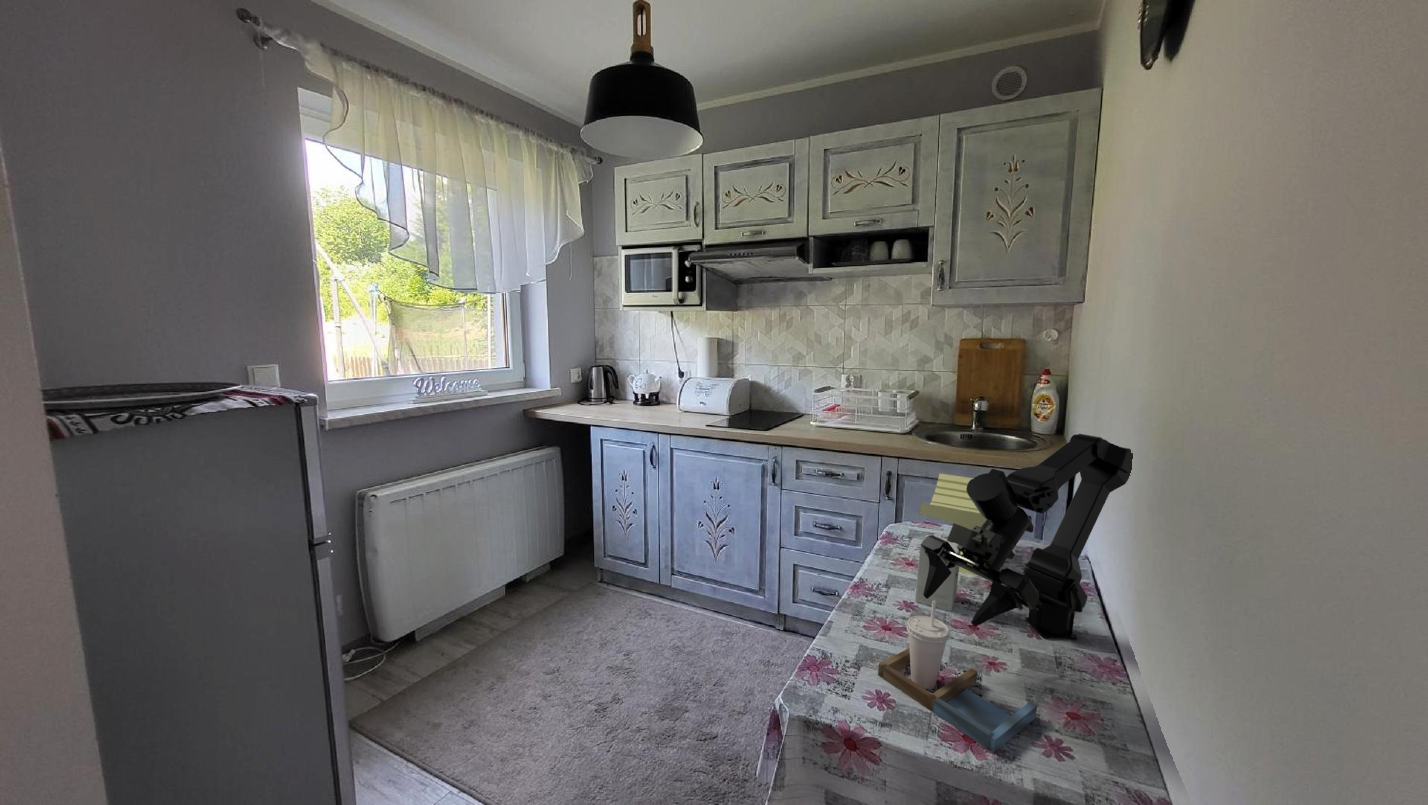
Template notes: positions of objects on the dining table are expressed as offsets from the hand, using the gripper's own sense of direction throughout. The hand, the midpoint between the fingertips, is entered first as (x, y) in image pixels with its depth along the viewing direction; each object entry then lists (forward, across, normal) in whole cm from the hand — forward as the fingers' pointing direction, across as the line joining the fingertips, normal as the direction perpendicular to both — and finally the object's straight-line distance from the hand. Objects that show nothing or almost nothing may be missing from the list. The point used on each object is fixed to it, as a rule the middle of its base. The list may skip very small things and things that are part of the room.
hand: (947, 610), depth 85 cm
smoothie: (+11, 0, +5) cm, 12 cm away
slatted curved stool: (-21, -28, +37) cm, 51 cm away
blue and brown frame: (+11, +4, +5) cm, 13 cm away
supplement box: (-6, -18, +22) cm, 29 cm away
